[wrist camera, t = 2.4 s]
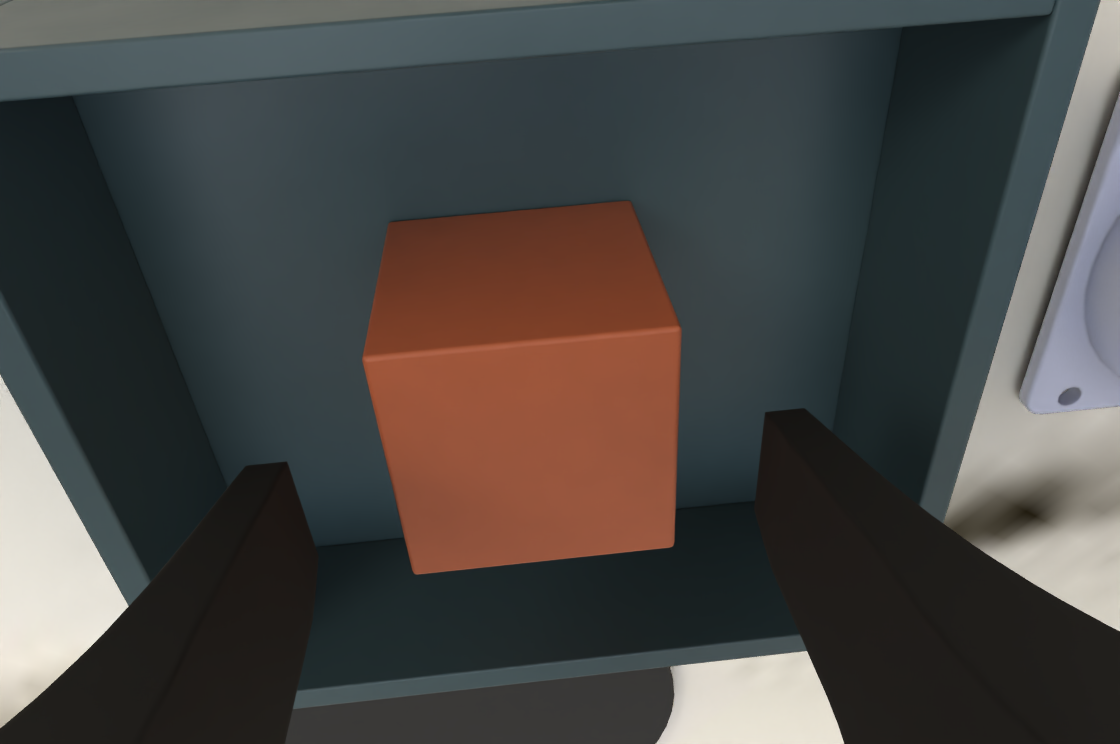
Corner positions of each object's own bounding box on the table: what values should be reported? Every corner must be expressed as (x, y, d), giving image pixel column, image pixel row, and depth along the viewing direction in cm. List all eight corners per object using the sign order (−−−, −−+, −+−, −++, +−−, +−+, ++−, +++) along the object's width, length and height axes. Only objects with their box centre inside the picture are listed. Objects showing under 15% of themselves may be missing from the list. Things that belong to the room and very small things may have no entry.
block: (632, 198, 15) (682, 327, 12) (633, 393, 18) (675, 548, 14) (387, 220, 15) (359, 358, 12) (425, 414, 18) (412, 576, 14)
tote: (945, -85, 14) (1114, -42, 10) (835, 497, 21) (909, 640, 18) (2, -12, 13) (-176, 62, 9) (239, 560, 21) (191, 721, 17)
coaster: (676, 551, 22) (679, 563, 21) (667, 787, 29) (670, 798, 28) (220, 600, 21) (216, 613, 21) (323, 828, 28) (321, 840, 28)
